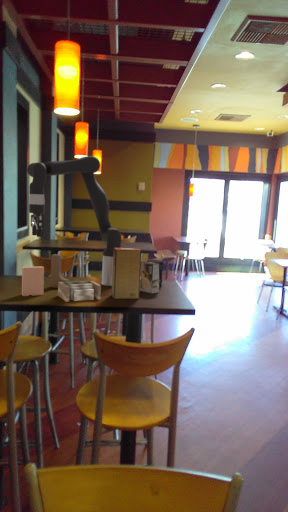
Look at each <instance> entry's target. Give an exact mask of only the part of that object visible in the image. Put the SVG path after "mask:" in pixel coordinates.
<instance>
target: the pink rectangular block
mask: <svg viewBox="0 0 288 512" xmlns="http://www.w3.org/2000/svg"><path fill="white" fill-rule="evenodd" d="M44 286H45V267H44V266H22V268H21V295H22V296H23V297H30V296H29V295H32V296H44V294H45V293H44V289H45V288H44Z"/></svg>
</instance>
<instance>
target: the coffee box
mask: <svg viewBox="0 0 288 512" xmlns="http://www.w3.org/2000/svg"><path fill="white" fill-rule="evenodd" d="M159 277H160V264H158V263H152V262H147V261H144V262H141V266H140V286H139V292H143V293H148V294H157V293H159V291H160V287H159Z"/></svg>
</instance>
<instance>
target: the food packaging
mask: <svg viewBox="0 0 288 512" xmlns="http://www.w3.org/2000/svg"><path fill="white" fill-rule="evenodd" d="M141 260H142V250H141V249H140V248H138V247H137V248H135V247H134V248H133V247H130V248H129V247H121V248H114V251H113V274H112V286H111V296H112V299H114V300H121V299H122V300H128V299H129V300H139V299H140V285H141V263H142V261H141Z"/></svg>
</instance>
